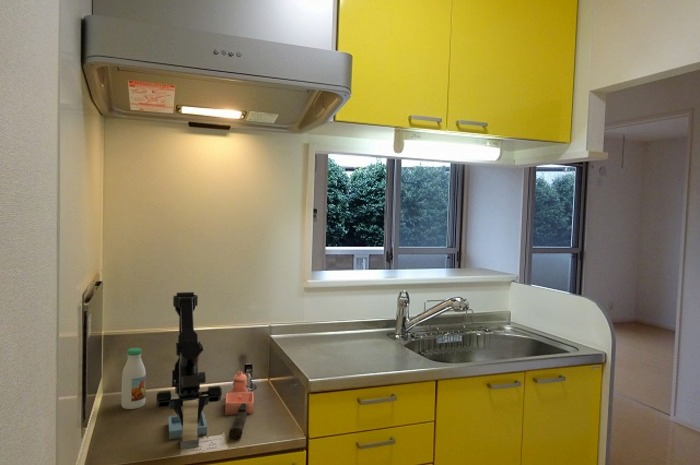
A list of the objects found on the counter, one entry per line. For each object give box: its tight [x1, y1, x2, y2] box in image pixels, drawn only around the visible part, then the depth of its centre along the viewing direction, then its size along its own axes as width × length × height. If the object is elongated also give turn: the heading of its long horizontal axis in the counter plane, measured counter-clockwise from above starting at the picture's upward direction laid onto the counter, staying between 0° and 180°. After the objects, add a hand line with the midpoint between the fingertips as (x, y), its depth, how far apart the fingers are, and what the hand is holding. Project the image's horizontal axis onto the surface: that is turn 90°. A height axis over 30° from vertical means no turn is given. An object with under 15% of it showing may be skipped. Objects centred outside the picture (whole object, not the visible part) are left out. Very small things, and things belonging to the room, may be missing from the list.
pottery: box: [224, 370, 255, 415], centre depth 174 cm, size 18×10×10 cm, turn 12°
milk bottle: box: [120, 347, 147, 410], centre depth 169 cm, size 8×8×20 cm
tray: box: [167, 411, 208, 440], centre depth 153 cm, size 11×11×2 cm
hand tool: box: [228, 403, 248, 441], centre depth 156 cm, size 19×4×5 cm, turn 2°
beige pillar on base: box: [179, 399, 200, 450], centre depth 143 cm, size 5×5×12 cm
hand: (190, 424), depth 142 cm, fingers closed on beige pillar on base, 4 cm apart
